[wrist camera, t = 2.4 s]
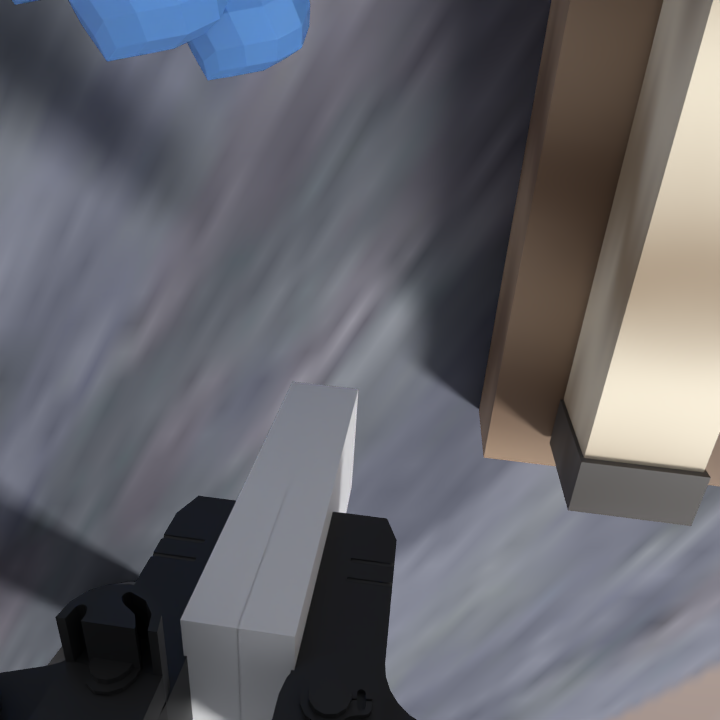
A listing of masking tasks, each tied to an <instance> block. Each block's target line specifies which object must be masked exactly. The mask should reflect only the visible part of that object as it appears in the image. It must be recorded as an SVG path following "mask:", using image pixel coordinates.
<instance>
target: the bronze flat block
mask: <svg viewBox="0 0 720 720" xmlns="http://www.w3.org/2000/svg"><path fill="white" fill-rule="evenodd" d="M662 4H663V0H552V1H551V6H550V12H549V18H548V23H547V29H546V35H545V40H544V46H543V52H542V57H541V63H540V69H539V74H538V80H537V86H536V91H535V97H534V102H533V108H532V114H531V119H530V125H529V131H528V136H527V142H526V148H525V153H524V159H523V165H522V170H521V176H520V182H519V187H518V193H517V198H516V204H515V210H514V215H513V221H512V227H511V232H510V238H509V244H508V249H507V255H506V261H505V266H504V272H503V278H502V283H501V289H500V294H499V300H498V306H497V311H496V317H495V323H494V328H493V334H492V340H491V345H490V351H489V357H488V362H487V368H486V374H485V379H484V385H483V391H482V396H481V402H480V407H479V415H480V425H481V435H482V445H483V455H484V458H492V459H501V460H509V461H517V462H525V463H533V464H542V465H550V466H556V464H555V461H554V457H553V454H552V450H551V446H550V439H551V435H552V431H553V427H554V423H555V419H556V415H557V411H558V407H559V402H560V399H561V400H564V396H565V392H566V388H567V384H568V380H569V376H570V372H571V368H572V364H573V360H574V356H575V352H576V348H577V344H578V340H579V336H580V332H581V328H582V324H583V320H584V316H585V312H586V308H587V304H588V300H589V296H590V292H591V288H592V284H593V280H594V276H595V272H596V268H597V264H598V260H599V256H600V252H601V248H602V244H603V240H604V236H605V232H606V228H607V224H608V220H609V216H610V212H611V208H612V204H613V200H614V196H615V192H616V188H617V184H618V180H619V176H620V172H621V168H622V164H623V160H624V156H625V152H626V148H627V144H628V140H629V136H630V132H631V128H632V124H633V120H634V116H635V112H636V108H637V104H638V100H639V96H640V92H641V88H642V84H643V80H644V76H645V72H646V68H647V64H648V60H649V56H650V52H651V48H652V44H653V40H654V36H655V32H656V28H657V24H658V20H659V16H660V12H661V8H662ZM705 469H706V471H707V472H708V474H709V476H710V477H711V479H710V481H709V484H708V485H714V486H720V433H719V435H718V438H717V440H716V443H715V445H714V448H713V450H712V453H711V455H710V458H709V460H708V463H707V465H706V468H705Z"/></svg>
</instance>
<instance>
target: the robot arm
mask: <svg viewBox="0 0 720 720" xmlns="http://www.w3.org/2000/svg"><path fill="white" fill-rule="evenodd" d="M357 401H358V389H354V388H345V387H336V386H328V385H319V384H310V383H301V382H292V384H291V386H290V388H289V390H288V392H287V394H286V397H285V399H284V401H283V403H282V405H281V407H280V409H279V411H278V414H277V416H276V418H275V420H274V422H273V424H272V426H271V428H270V431H269V433H268V435H267V437H266V439H265V441H264V443H263V445H262V447H261V450H260V452H259V454H258V456H257V458H256V460H255V462H254V464H253V467H252V469H251V471H250V473H249V475H248V477H247V479H246V481H245V484H244V486H243V488H242V490H241V492H240V494H239V496H238V498H237V501H234V500H226V499H219V498H211V497H203V496H198V497H196V498H195V499H194V500H193V501H191V502H190V503H189V504H187V505H186V506H185V507H184V508H182V509H181V510H180V511H179V512H177V513H176V515H175V517H174V518H173V520H172V522H171V524H170V525H169V527H168V529H167V530H166V532H165V534H164V538H163V539H161V540H160V542H159V544H158V545H157V547H156V549H155V551H154V554H153V557H150V559H149V561H148V562H147V564H146V566H145V567H144V569H143V571H142V572H141V574H140V576H139V578H138V579H137V581H136V583H135V584H134V585H132V584H110V585H106V586H103V587H99V588H96V589H92V590H89V591H88V592H86V593H84V594H83V595H81V596H79V597H78V598H76V599H74V600H72V601H71V602H70V603H69V604H68V605H67V606H66V607H65V608H64V609H63V610H62V611H61V612H60V613H59V614H58V615H57V616H56V621H57V625H58V630H59V634H60V639H61V643H62V647H63V652H64V656H65V660H64V661H62V662H59V663H55V664H51V665H47V666H43V667H36V668H30V669H23V670H16V671H10V672H3V673H0V720H416V719H415V718H413V717H412V716H410V715H409V714H408V713H407V712H406V711H405V710H404V709H403V708H402V707H401V706H400V705H399V704H398V703H397V701H396V699H395V698H394V696H393V694H392V693H391V691H390V689H389V685H388V682H387V679H386V673H385V658H386V647H387V636H388V626H389V615H390V604H391V594H392V583H393V572H394V561H395V551H396V538H395V536H394V534H393V531H392V529H391V527H390V524H389V522H388V520H387V519H386V518H378V517H370V516H363V515H355V514H347V513H346V510H347V506H348V501H349V496H350V492H351V487H352V473H353V458H354V444H355V430H356V416H357Z"/></svg>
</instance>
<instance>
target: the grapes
mask: <svg viewBox="0 0 720 720" xmlns="http://www.w3.org/2000/svg"><path fill="white" fill-rule="evenodd" d="M12 1H13V3H14V4H15V5H16V4H22V3H28V2H33V1H39V0H12ZM68 1H69V3H70V4H71V6H72V8H73V10H74V12H75V14H76V15H77V17H78V19H79V21H80V23H81V24H82V26H83V28H84V29H85V30H86V32H87V33H88V35H89V36H90V38H91V39H92V41H93V42H94V43H95V45H96V46H97V48H98V49H99V51H100V52H101V53H102V55H103V56H104V58H105V59H106V61H112V60H118V59H123V58H129V57H134V56H139V55H145V54H150V53H155V52H160V51H165V50H169V49H174V48H176V47H178V46H181V45H183V44H185V43H188V45H189V47H190V49H191V51H192V53H193V55H194V57H195V58H196V60H197V62H198V64H199V66H200V67H201V69H202V71H203V73H204V74H205V76H206V78H207V80H213V79H219V78H225V77H231V76H237V75H242V74H247V73H253V72H258V71H264V70H265V69H267V68H269V67H271V66H273V65H274V64H276V63H278V62H280V61H282V60H284V59H285V58H287V57H289V56H290V55H292V54H293V53H295V52H296V51H298V50H299V49H301V48H302V45H303V43H304V40H305V37H306V34H307V31H308V28H309V20H310V1H309V0H68Z"/></svg>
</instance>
